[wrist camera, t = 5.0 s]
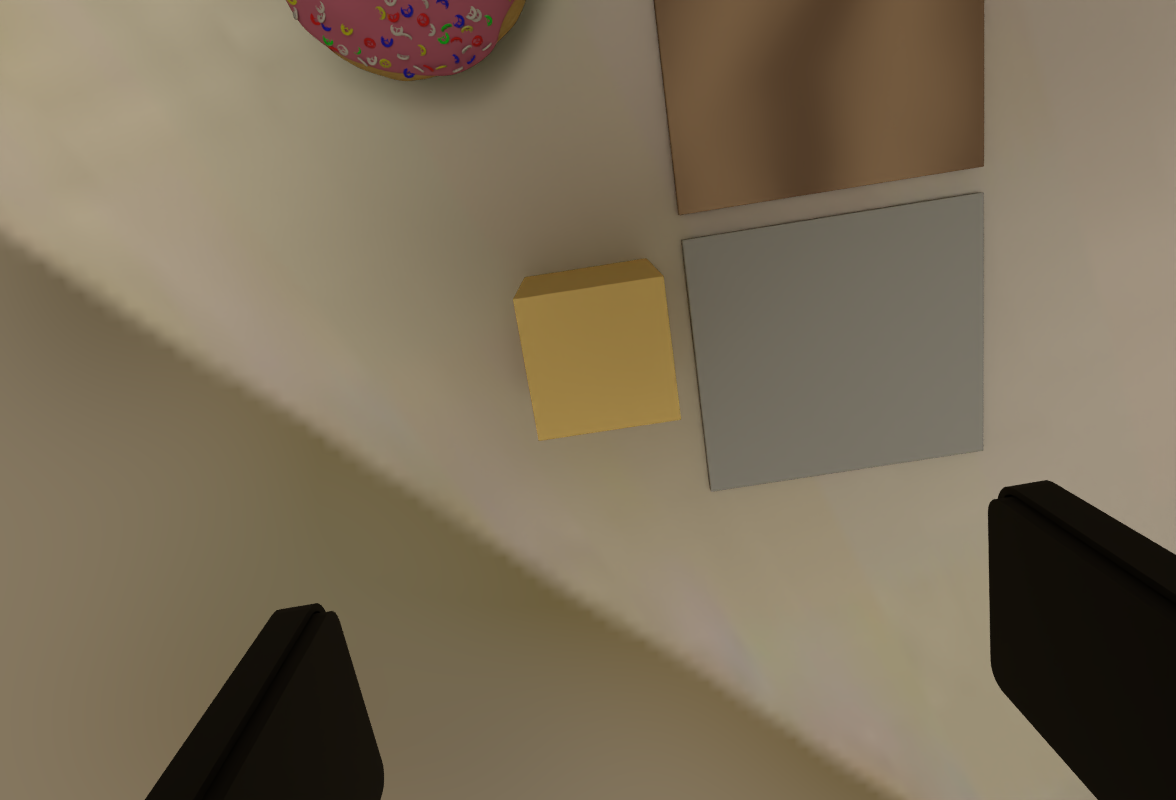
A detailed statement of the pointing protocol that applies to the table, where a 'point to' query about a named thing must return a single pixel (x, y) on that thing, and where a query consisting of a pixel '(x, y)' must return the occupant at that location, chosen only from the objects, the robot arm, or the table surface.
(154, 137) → the table surface
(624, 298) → the mustard block
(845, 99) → the walnut mat
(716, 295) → the grey mat
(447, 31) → the cupcake
